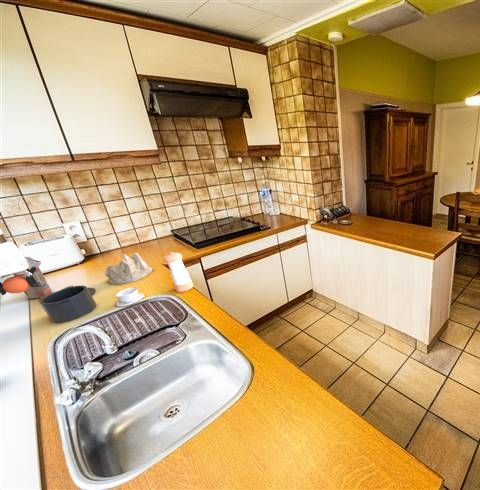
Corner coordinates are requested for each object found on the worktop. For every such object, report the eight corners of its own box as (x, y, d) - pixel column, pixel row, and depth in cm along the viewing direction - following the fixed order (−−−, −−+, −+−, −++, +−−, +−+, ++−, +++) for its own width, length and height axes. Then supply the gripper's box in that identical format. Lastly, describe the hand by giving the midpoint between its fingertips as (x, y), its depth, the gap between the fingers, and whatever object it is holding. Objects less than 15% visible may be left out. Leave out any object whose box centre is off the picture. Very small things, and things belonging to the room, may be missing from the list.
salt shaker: (189, 282, 134) (176, 248, 126) (196, 286, 130) (183, 251, 122) (173, 289, 128) (158, 253, 121) (180, 293, 124) (165, 257, 117)
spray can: (34, 293, 132) (11, 257, 124) (56, 288, 135) (35, 253, 127) (23, 301, 125) (-3, 264, 117) (47, 296, 128) (23, 260, 120)
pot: (51, 330, 104) (38, 311, 100) (53, 311, 116) (41, 293, 113) (97, 313, 113) (87, 295, 109) (95, 297, 125) (85, 280, 121)
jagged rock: (157, 268, 150) (144, 244, 143) (131, 285, 135) (116, 259, 128) (134, 270, 152) (120, 246, 145) (105, 286, 137) (89, 261, 131)
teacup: (145, 300, 120) (140, 291, 119) (116, 310, 115) (111, 301, 113) (143, 291, 128) (139, 283, 126) (116, 300, 122) (112, 292, 120)
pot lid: (52, 311, 116) (44, 300, 114) (53, 299, 126) (46, 288, 123) (97, 296, 126) (91, 285, 123) (95, 286, 135) (89, 276, 133)
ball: (6, 299, 89) (-5, 283, 87) (9, 292, 93) (-1, 277, 91) (33, 291, 93) (23, 276, 91) (35, 285, 97) (25, 271, 95)
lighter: (38, 299, 126) (26, 281, 122) (48, 295, 129) (36, 278, 125) (49, 302, 124) (37, 283, 120) (58, 298, 127) (47, 280, 123)
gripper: (-63, 254, 77) (-24, 305, 85) (27, 237, 89) (54, 283, 96) (-55, 247, 82) (-19, 296, 89) (30, 232, 93) (56, 276, 101)
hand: (19, 289), depth 93 cm, fingers closed on ball, 5 cm apart
